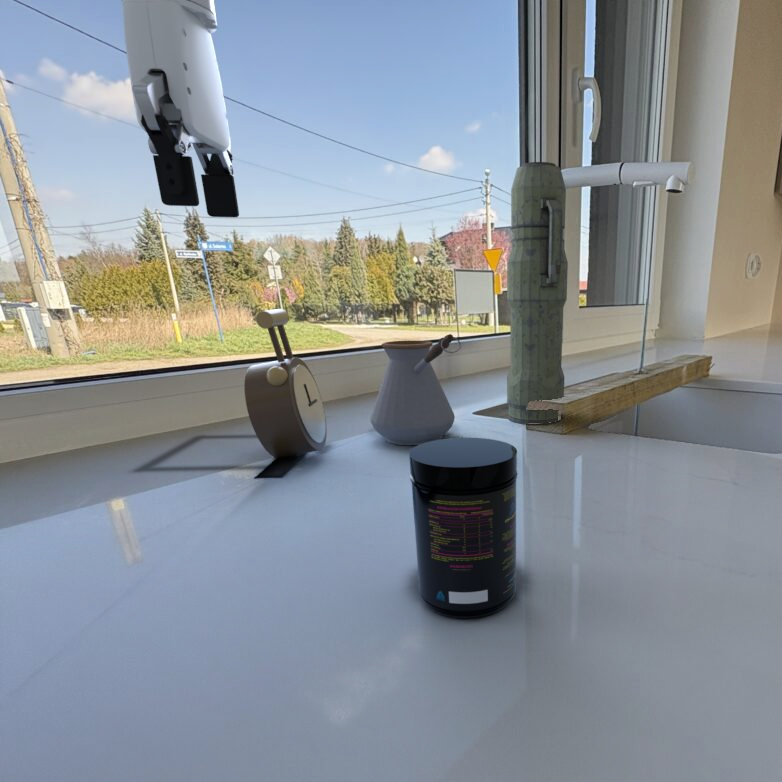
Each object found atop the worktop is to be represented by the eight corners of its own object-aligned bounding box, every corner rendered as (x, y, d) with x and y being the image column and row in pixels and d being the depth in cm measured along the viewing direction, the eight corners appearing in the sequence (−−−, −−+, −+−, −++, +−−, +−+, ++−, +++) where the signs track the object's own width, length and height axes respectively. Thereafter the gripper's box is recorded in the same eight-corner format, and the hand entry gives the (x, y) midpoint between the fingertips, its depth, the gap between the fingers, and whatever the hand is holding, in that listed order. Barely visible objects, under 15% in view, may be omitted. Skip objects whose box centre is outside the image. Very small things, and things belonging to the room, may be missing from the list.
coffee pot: (363, 433, 81) (351, 324, 76) (438, 425, 86) (433, 321, 81) (409, 475, 64) (399, 336, 58) (501, 461, 69) (500, 332, 63)
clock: (214, 319, 58) (264, 310, 58) (253, 314, 68) (296, 305, 68) (267, 469, 64) (313, 461, 64) (296, 444, 74) (335, 436, 74)
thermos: (539, 408, 97) (543, 174, 84) (579, 422, 88) (590, 161, 75) (493, 414, 93) (490, 169, 80) (530, 429, 84) (533, 154, 71)
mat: (142, 480, 62) (141, 477, 62) (200, 446, 75) (199, 443, 75) (282, 477, 63) (281, 474, 63) (315, 444, 76) (314, 441, 76)
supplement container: (506, 569, 43) (505, 434, 39) (527, 616, 37) (528, 463, 33) (416, 578, 42) (406, 440, 38) (422, 629, 36) (411, 470, 32)
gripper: (173, 36, 59) (203, 219, 66) (61, -55, 43) (116, 199, 50) (246, 39, 60) (270, 221, 66) (163, -50, 44) (204, 201, 50)
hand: (204, 211), depth 58 cm, fingers open, 9 cm apart
